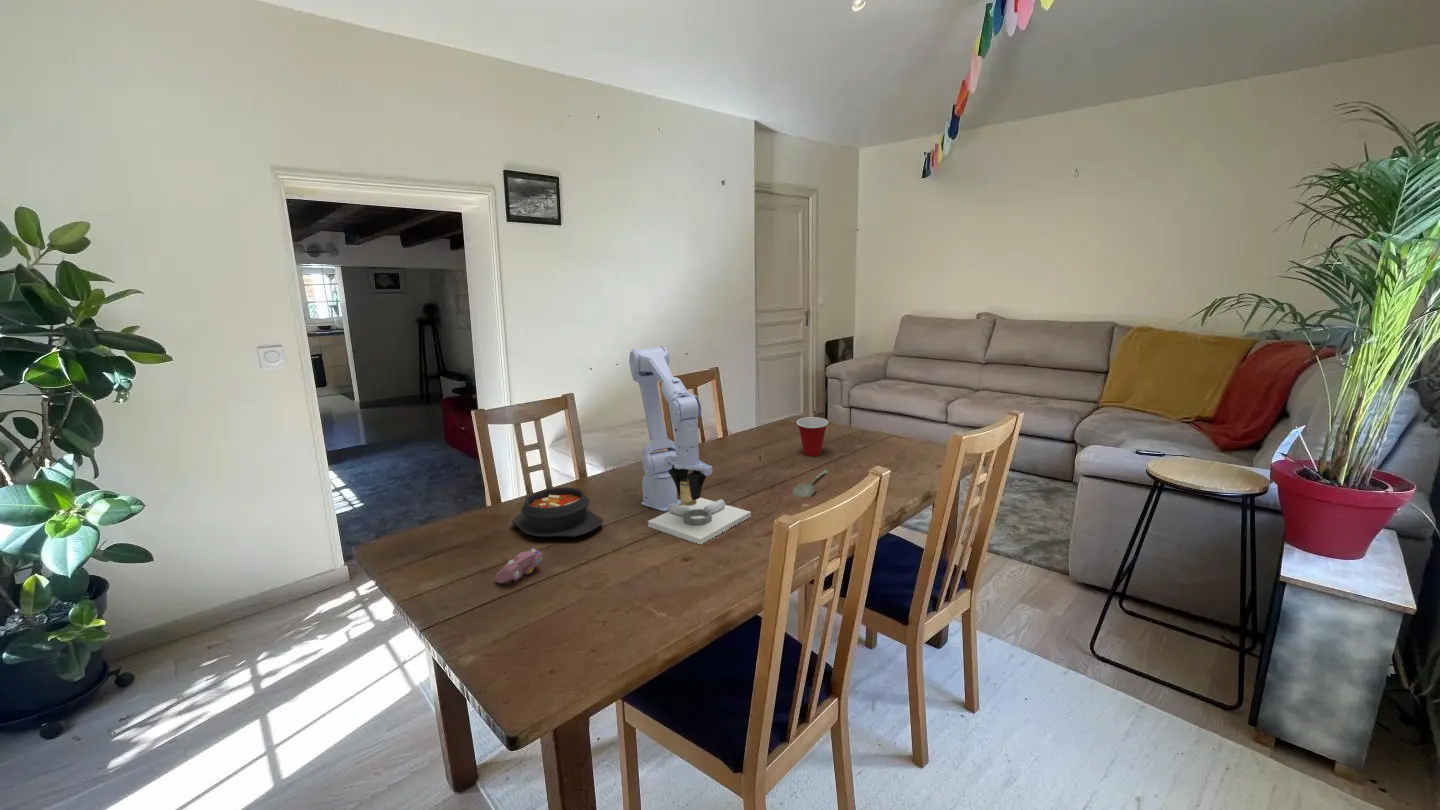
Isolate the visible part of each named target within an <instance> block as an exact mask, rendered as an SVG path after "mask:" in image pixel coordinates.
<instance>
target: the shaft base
mask: <svg viewBox="0 0 1440 810" xmlns="http://www.w3.org/2000/svg"><path fill="white" fill-rule="evenodd" d="M749 517H750V518H752V512H751V511H749V510H746V509H742V508H739V507H735V506H732V505H727V504H726V502H725V500H724V499H721V498H720V499H718V500H715V501H714V500H711V499H708V498H707V499H706V498H703V497H700V498H699V499H697V503H696V504H695V505H692V506H684V505H682V504H680V505H678V504H674V503H671V504H670V505H669V507H668V510H667V511H666V512H664V513H663V514H660V515H659V516H656V517H654V518H652V519H649V520H647V525H648V528H651V529H654V530H657V531H660V532H663V533H665V534H668V535H671V536H674V537H676V538H679V539H683V540H686V541H688V542H691V543H693V542H694V544H696V543H697V545H699V544H700V546H701V544H702V545H704V544H705V543H707V542H708V540H709V541H710V539H711V540H712V538H713V539H714V538H716V537H718V536H719V534H720V535H721V533H722V532H723V533H725V532H727V531H728V529H729V530H731V529H732V528H734V527H736V526H737V524H738V523H740V522H741V523H743V522H745V521H747V520H749V519H750V518H749ZM748 518H749V519H748ZM746 519H747V520H746ZM744 520H745V521H744ZM742 521H743V522H742ZM741 523H740V524H741ZM735 525H736V526H735ZM738 525H739V524H738ZM733 526H734V527H733ZM731 527H732V528H731ZM730 528H731V529H730ZM726 530H727V531H726ZM724 531H725V532H724ZM723 533H722V534H723ZM717 535H718V536H717ZM715 536H716V537H715ZM706 541H707V542H706ZM704 542H705V543H704ZM703 543H704V544H703Z"/></svg>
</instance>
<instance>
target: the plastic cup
mask: <svg viewBox="0 0 1440 810" xmlns="http://www.w3.org/2000/svg"><path fill="white" fill-rule="evenodd" d="M796 424H797V426H798V430H799V434H800V441H801V446H802V451H803V455H805V456H807V457H817V456H820V455H821V454H822V449H823V444H824V439H825V432H826V428H827V426H828V424H829V421H828V419H825V418H822V417H817V416H815V417H814V416H810V417H809V416H807V417H802V418H799V419H797V420H796Z"/></svg>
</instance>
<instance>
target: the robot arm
mask: <svg viewBox="0 0 1440 810" xmlns="http://www.w3.org/2000/svg"><path fill="white" fill-rule="evenodd" d="M629 367H630V374H631V377H632V381H633V382H636V383H638V386H639V389H640V394H641V401H642V406H643V410H644V415H645V421H646V426H647V431H648V437H649V441H648V443H646V445H644V447H643V448H642V451H641V455H642V456H641V457H642V463H641V464H642V468H643V472H644V473H645V474H644V476H643V478H642V481H641V483H642V486H641V487H642V499H643V500H642V501H641V503H640V504H641V505H643V506H645V507H649V508H651V509H655V510H658V511H660V512H668V511H669V510H668V507H669V505H670V504H671V503H674V504H678V505H682V504H681V499H679V498H678V496H679V497H680V483H679V481H680V479H682V478H688V480H689V483H690V487H691V496H692V500H697V499H699V498H701V493H702V489H703V485H704V483H705V481H706V478H707V477H708V476H710V475H712V474H713V466H712V465H709V464H707V463H705V462H703V461H701V460H700V451H699V430H698V429H699V427H698V426H699V425H698V419H700V417H701V415H702V405H701V401H700V399H699V397H698V396H697V395H696V394H693V393H689V391H688V389H687V388H686V387H685V385H684V383H683V381H682V379H680V378H678V377H674V373H673V372H672V371H671V368H670V353H669V351H668V350H667V348H666V347H665V346H663V345H662V346H660V347H648V348H637V349H636V348H633V349H632V350H631V351H630V352H629ZM658 382H659V383H660V384H661V386H660V392H661V394H662V395H663V397H664V398H665V400H666V402H667V404H668V405H669V408H668V409H669V415H670V418H671V425H672V428H673V429H674V430H673V431H674V441H673V440H672V439H670V438H668V435H667V430H666V424H665V418H664V415H663V414H664V413H663V410H662V409H663V408H662V403H661V398H660V397H661V396H660V393H659V387H658ZM689 471H692V472H690V473H689Z"/></svg>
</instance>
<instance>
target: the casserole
mask: <svg viewBox="0 0 1440 810" xmlns="http://www.w3.org/2000/svg"><path fill="white" fill-rule="evenodd" d="M589 505H590V499H589V497H587V496H586V493H585V492H584V491H583V490H582V489H579V488H575V487H552V488H547V489H543V490H540V491H537V492H535V493H532V494H531V495H529V496H527V497H526V498H525V500H524V503H523V505H522V507H521V509H520V511H521V513H519V514H518V515H516V516H515V517H514V518H513V519H512V520H511V523H512V524H513V525H514V526H516V527H518V528H519V529H520V531H521V532H522V533H524V534H527V535H529V536H534V537H541V538H548V537H553V538H554V537H569V538H570V537H571V538H572V537H573V538H574V537H580V536H583V535H586V534H589V533H591V532H593V531H595V530H596V529H598V528H599V527H600V526H602V524H603V522H604V519H603V517H601V516H598V515H596V514H594V513H593V512H592V511H591V510H589V509H588V506H589Z"/></svg>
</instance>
